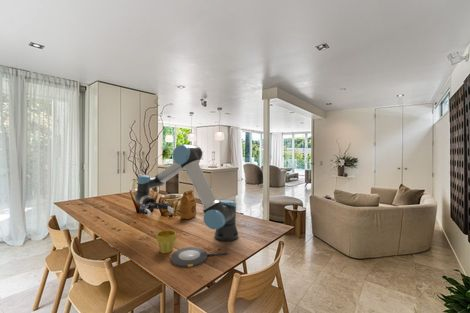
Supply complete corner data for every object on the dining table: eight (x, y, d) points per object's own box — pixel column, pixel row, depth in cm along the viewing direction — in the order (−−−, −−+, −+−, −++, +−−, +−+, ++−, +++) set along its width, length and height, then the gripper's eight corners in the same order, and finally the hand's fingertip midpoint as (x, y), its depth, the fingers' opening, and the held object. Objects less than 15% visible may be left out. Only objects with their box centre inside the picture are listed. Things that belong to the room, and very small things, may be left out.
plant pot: (159, 257, 118) (159, 238, 118) (153, 249, 126) (153, 232, 126) (178, 251, 124) (178, 234, 124) (172, 245, 132) (172, 228, 132)
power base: (224, 246, 131) (224, 244, 131) (232, 262, 113) (232, 259, 113) (171, 251, 124) (171, 249, 124) (170, 269, 106) (170, 266, 106)
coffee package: (198, 216, 188) (198, 190, 187) (188, 220, 177) (188, 192, 176) (188, 214, 192) (188, 188, 191) (178, 218, 181) (178, 191, 181)
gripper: (165, 206, 155) (181, 216, 139) (127, 210, 138) (139, 222, 122) (166, 195, 154) (182, 204, 139) (128, 198, 137) (140, 209, 122)
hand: (162, 213), depth 130 cm, fingers open, 13 cm apart
